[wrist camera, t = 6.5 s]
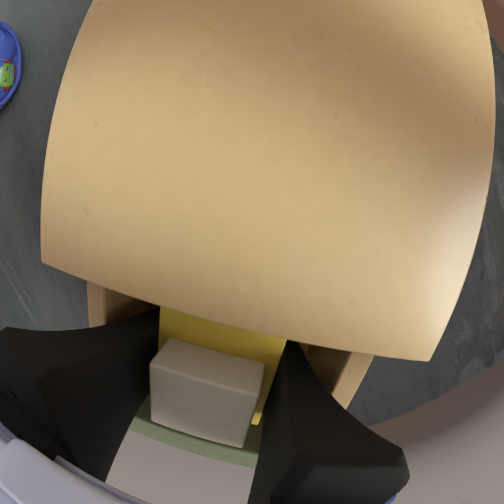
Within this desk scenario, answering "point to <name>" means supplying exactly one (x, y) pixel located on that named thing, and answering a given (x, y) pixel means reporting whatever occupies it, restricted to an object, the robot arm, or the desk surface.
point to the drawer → (327, 370)
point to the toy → (211, 377)
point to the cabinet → (277, 163)
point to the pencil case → (9, 63)
